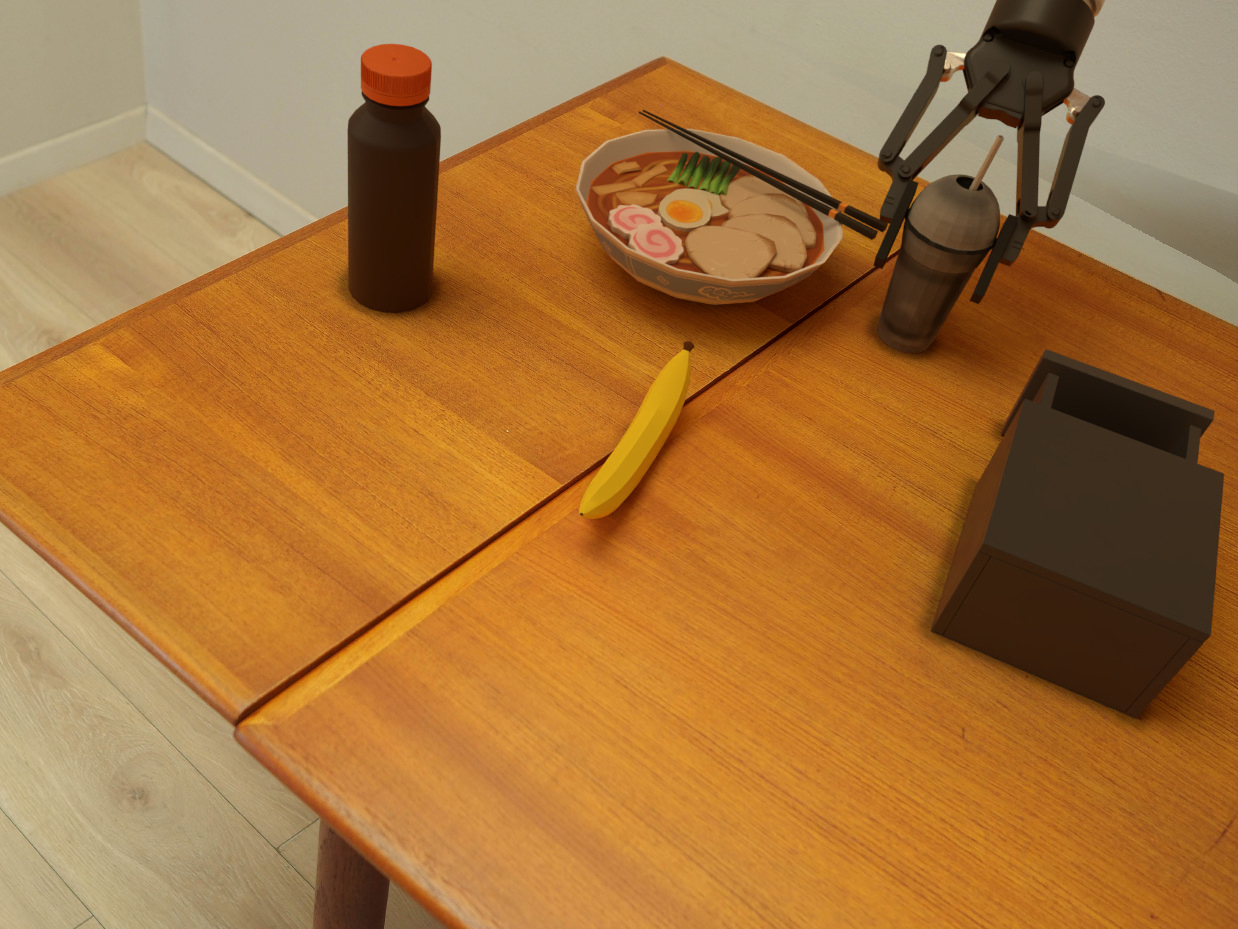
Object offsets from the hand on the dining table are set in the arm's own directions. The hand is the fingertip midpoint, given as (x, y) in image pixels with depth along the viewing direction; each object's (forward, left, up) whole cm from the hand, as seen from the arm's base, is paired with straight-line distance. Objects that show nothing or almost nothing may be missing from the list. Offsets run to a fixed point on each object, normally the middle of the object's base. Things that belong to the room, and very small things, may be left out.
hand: (927, 280), depth 91 cm
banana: (+14, +25, -9) cm, 30 cm away
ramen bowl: (+19, -2, -9) cm, 21 cm away
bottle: (+39, +16, -9) cm, 43 cm away
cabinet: (-16, +20, -9) cm, 27 cm away
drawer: (-16, +9, -8) cm, 20 cm away
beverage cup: (0, -3, -9) cm, 9 cm away
